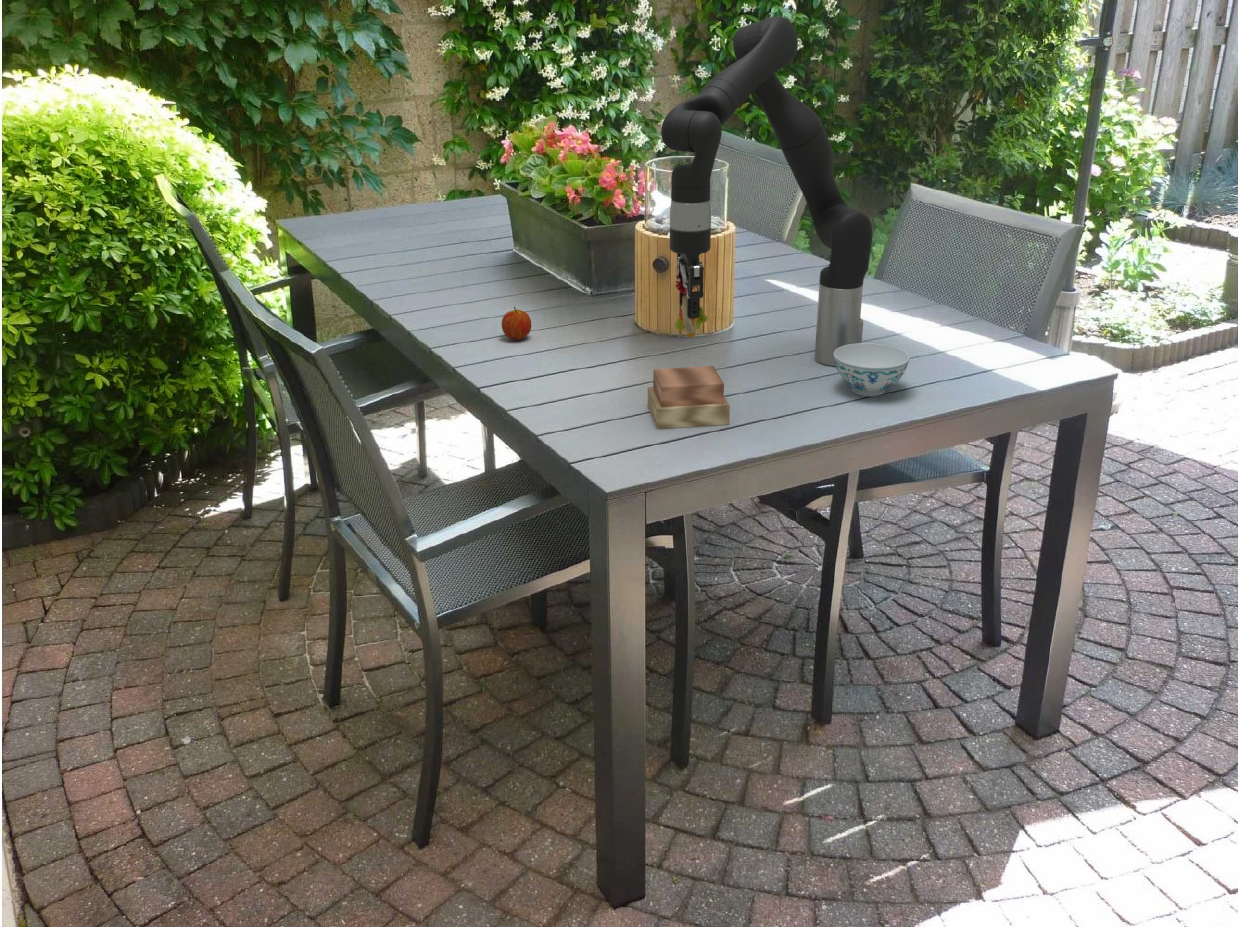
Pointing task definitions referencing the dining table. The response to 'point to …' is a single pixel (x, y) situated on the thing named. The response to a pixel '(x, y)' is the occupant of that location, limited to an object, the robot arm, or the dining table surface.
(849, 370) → the chinaware
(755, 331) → the dining table surface
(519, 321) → the fruit
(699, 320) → the bird rattle
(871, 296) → the dining table surface
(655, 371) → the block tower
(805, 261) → the dining table surface
